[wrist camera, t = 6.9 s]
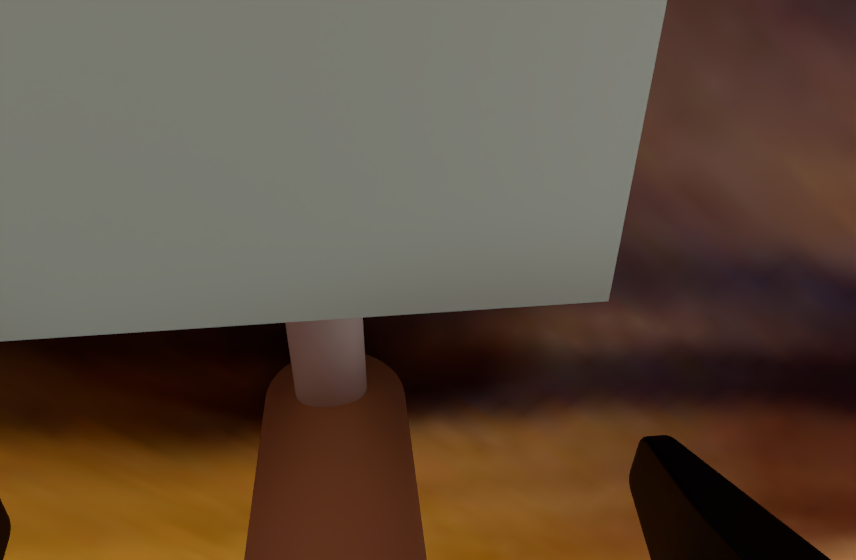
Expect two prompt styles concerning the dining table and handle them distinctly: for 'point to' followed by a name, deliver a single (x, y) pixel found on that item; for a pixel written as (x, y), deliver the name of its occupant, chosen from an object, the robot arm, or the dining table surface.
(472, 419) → the dining table surface
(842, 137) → the dining table surface
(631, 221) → the dining table surface
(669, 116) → the dining table surface
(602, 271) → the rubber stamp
